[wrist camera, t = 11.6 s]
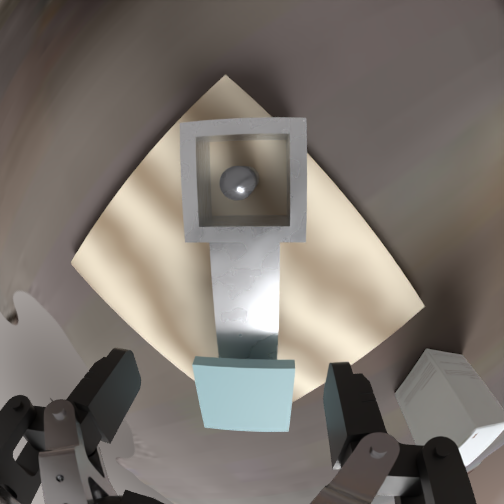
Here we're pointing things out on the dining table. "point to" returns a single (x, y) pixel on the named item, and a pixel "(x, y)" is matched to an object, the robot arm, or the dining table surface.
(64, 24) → the dining table surface
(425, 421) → the supplement box
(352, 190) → the dining table surface
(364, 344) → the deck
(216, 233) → the link
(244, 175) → the cylinder
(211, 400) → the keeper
